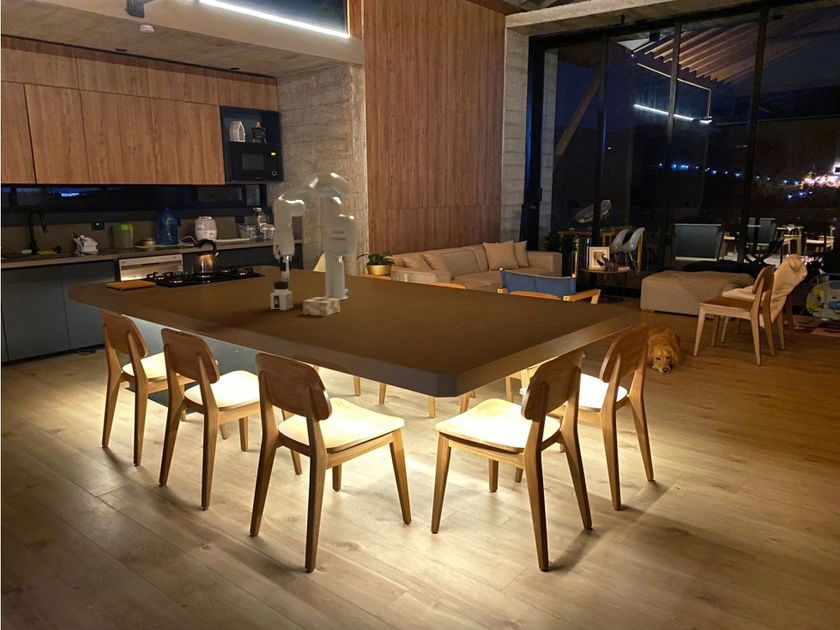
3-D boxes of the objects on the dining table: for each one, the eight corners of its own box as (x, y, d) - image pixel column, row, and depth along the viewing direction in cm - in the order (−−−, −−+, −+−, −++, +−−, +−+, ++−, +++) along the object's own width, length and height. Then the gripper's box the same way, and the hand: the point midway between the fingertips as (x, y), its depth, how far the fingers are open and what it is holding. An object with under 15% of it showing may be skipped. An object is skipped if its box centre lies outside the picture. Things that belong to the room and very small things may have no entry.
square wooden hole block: (317, 309, 296) (317, 297, 295) (340, 311, 291) (339, 298, 290) (303, 314, 285) (302, 301, 284) (326, 316, 280) (326, 302, 279)
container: (286, 310, 294) (285, 282, 292) (270, 309, 296) (269, 282, 293) (293, 307, 302) (292, 280, 299) (277, 306, 303) (276, 279, 301)
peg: (285, 279, 283) (283, 252, 280) (290, 279, 282) (289, 252, 279) (281, 280, 280) (279, 253, 278) (286, 280, 279) (285, 253, 277)
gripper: (287, 227, 285) (289, 268, 289) (265, 229, 270) (267, 272, 274) (301, 227, 282) (303, 268, 286) (279, 230, 268) (281, 273, 271)
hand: (285, 270), depth 280 cm, fingers closed on peg, 3 cm apart
